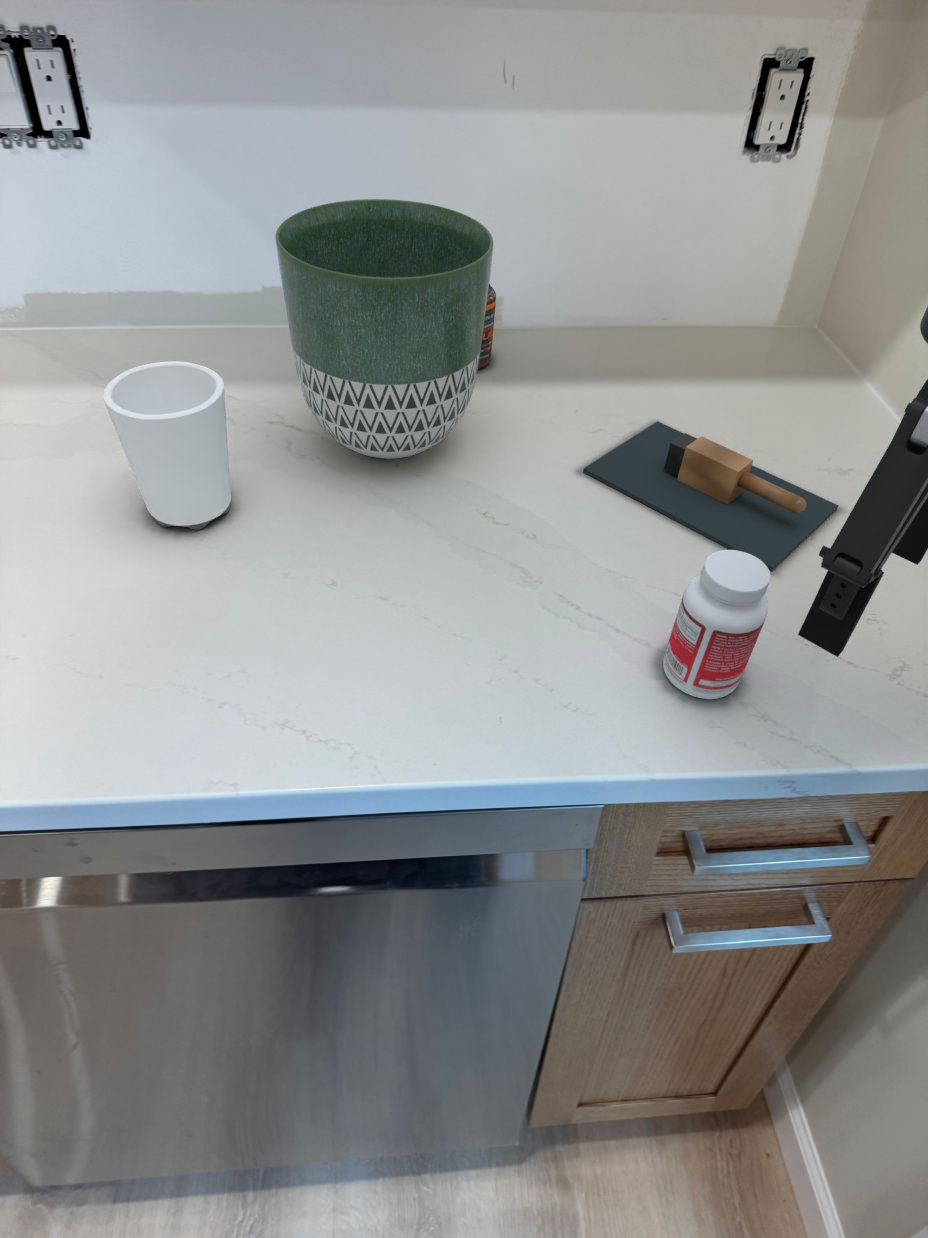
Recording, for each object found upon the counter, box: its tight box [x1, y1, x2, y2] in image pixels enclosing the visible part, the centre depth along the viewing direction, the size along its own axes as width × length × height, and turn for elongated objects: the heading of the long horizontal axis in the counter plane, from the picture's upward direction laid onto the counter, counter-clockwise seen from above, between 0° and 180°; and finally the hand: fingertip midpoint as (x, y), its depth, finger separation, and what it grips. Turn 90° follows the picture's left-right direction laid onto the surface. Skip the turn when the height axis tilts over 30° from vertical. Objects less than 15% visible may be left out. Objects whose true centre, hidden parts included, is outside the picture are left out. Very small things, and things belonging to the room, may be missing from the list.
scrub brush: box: [664, 432, 806, 513], centre depth 82 cm, size 15×3×4 cm, turn 47°
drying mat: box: [582, 420, 839, 572], centre depth 85 cm, size 22×14×1 cm, turn 47°
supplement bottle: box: [478, 280, 497, 370], centre depth 99 cm, size 6×6×11 cm
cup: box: [102, 360, 232, 531], centre depth 74 cm, size 10×10×13 cm
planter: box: [274, 198, 494, 460], centre depth 81 cm, size 20×20×21 cm
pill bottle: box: [662, 549, 771, 700], centre depth 63 cm, size 6×6×11 cm
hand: (862, 595), depth 55 cm, fingers open, 12 cm apart
